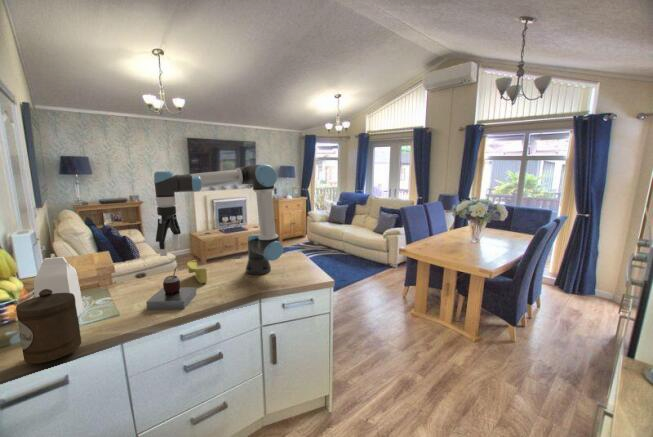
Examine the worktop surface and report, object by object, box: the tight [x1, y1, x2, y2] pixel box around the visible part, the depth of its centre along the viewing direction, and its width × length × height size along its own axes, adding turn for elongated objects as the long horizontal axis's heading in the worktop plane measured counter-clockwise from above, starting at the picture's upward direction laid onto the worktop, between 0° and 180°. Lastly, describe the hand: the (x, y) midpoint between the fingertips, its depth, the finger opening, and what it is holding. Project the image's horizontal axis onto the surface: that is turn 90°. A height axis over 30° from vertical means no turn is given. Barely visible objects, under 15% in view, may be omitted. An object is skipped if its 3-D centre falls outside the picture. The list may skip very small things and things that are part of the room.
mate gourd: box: [162, 264, 181, 296], centre depth 142 cm, size 8×8×15 cm
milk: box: [33, 256, 85, 317], centre depth 125 cm, size 12×12×26 cm
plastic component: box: [186, 259, 208, 284], centre depth 171 cm, size 20×7×10 cm, turn 37°
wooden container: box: [15, 289, 82, 364], centre depth 103 cm, size 15×15×22 cm
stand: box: [146, 286, 197, 311], centre depth 143 cm, size 16×16×4 cm
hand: (170, 251), depth 140 cm, fingers open, 13 cm apart
